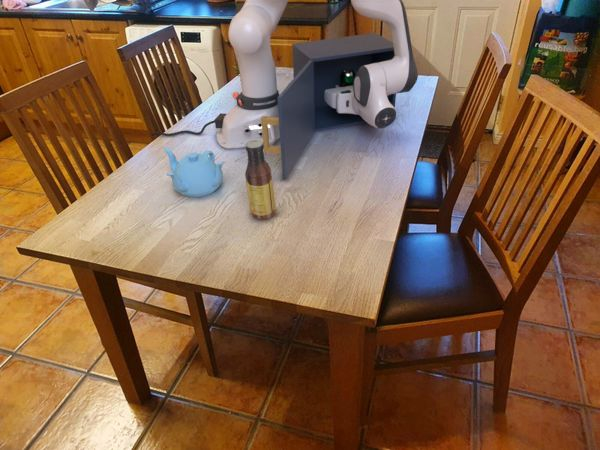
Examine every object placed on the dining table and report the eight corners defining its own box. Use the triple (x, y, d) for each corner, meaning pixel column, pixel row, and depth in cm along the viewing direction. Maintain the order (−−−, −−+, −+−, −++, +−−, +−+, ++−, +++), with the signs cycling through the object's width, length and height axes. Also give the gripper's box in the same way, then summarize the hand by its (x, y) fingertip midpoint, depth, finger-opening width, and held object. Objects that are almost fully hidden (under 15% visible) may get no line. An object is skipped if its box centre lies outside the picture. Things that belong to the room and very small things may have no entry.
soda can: (356, 106, 158) (358, 71, 151) (343, 109, 156) (344, 73, 149) (349, 101, 162) (350, 67, 154) (336, 104, 160) (337, 69, 153)
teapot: (222, 170, 133) (217, 138, 127) (230, 197, 121) (225, 163, 115) (171, 179, 130) (163, 146, 124) (174, 207, 118) (166, 173, 112)
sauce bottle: (262, 204, 118) (255, 133, 106) (281, 212, 115) (275, 140, 103) (244, 215, 114) (235, 143, 102) (263, 224, 111) (255, 151, 99)
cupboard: (393, 118, 158) (400, 46, 144) (312, 133, 151) (310, 58, 137) (371, 100, 172) (375, 32, 157) (295, 112, 165) (292, 43, 150)
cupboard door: (263, 177, 129) (255, 95, 115) (294, 131, 152) (291, 59, 138) (286, 179, 127) (281, 97, 113) (314, 133, 150) (312, 60, 136)
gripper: (393, 85, 146) (374, 72, 156) (333, 94, 141) (318, 80, 152) (391, 104, 149) (373, 90, 160) (333, 114, 145) (318, 99, 155)
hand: (346, 85), depth 156 cm, fingers closed on soda can, 5 cm apart
